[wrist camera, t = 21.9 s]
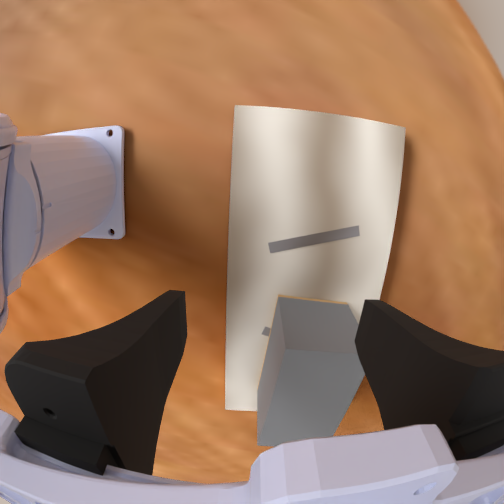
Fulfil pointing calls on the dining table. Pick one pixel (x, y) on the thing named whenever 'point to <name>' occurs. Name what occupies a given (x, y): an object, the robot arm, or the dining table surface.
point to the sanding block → (307, 370)
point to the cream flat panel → (303, 223)
